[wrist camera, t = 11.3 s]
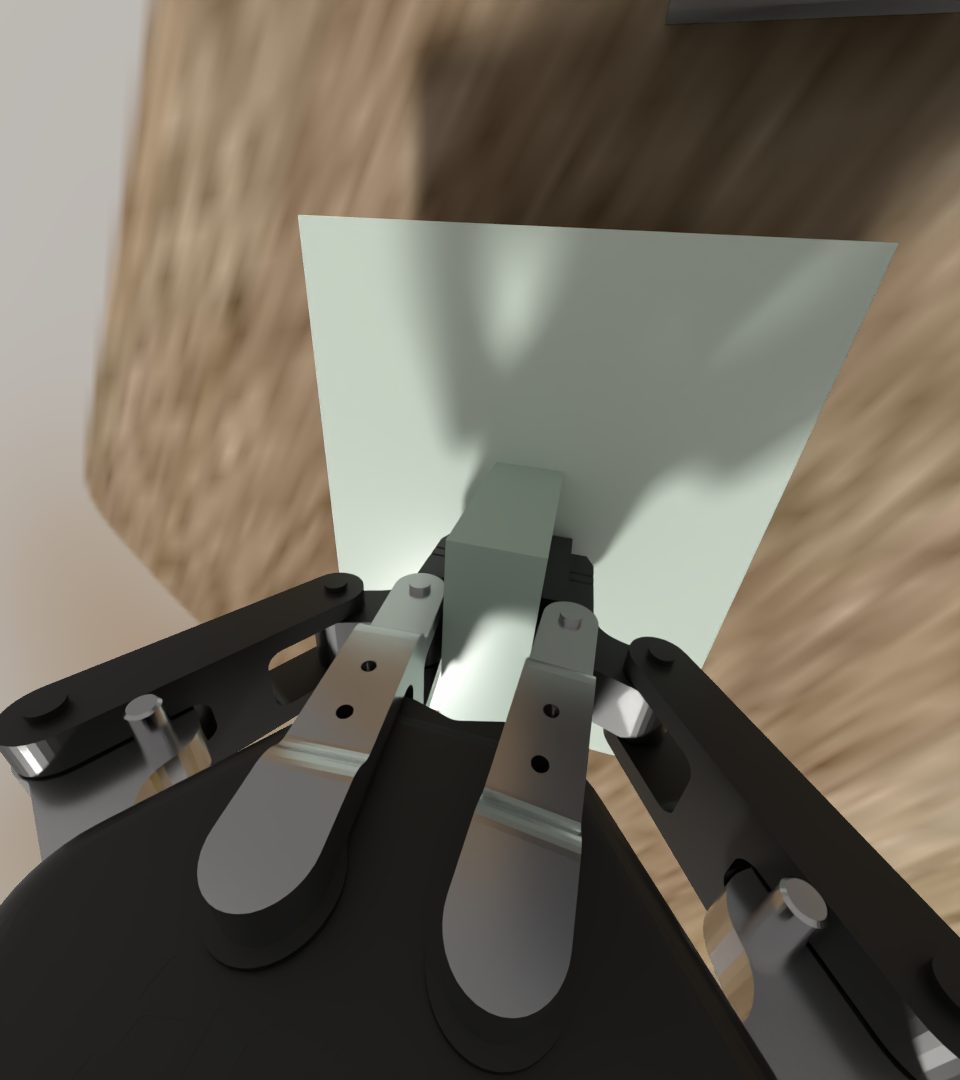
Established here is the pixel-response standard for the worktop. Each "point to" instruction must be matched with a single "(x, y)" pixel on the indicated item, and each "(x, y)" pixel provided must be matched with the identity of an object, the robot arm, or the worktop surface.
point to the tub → (797, 9)
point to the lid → (568, 416)
